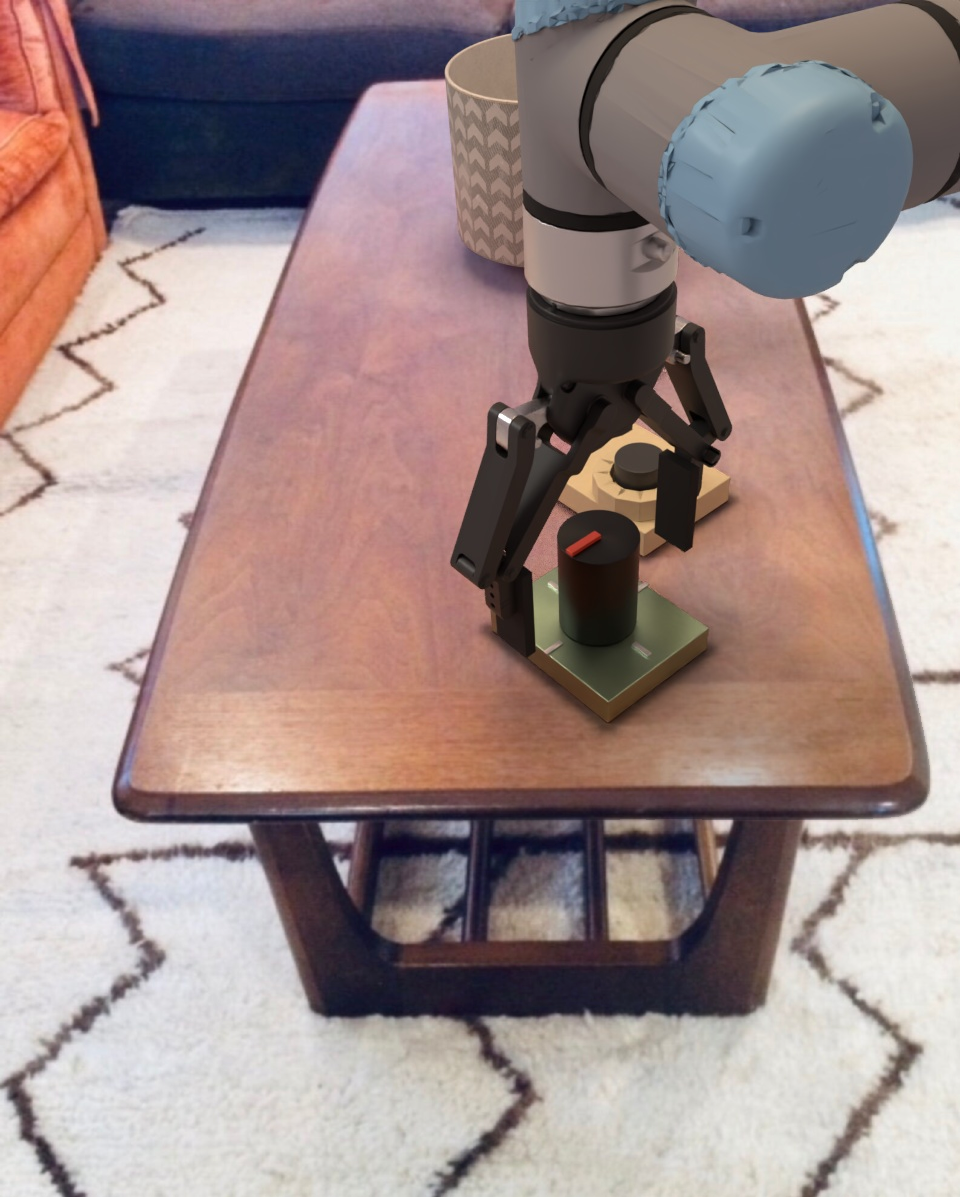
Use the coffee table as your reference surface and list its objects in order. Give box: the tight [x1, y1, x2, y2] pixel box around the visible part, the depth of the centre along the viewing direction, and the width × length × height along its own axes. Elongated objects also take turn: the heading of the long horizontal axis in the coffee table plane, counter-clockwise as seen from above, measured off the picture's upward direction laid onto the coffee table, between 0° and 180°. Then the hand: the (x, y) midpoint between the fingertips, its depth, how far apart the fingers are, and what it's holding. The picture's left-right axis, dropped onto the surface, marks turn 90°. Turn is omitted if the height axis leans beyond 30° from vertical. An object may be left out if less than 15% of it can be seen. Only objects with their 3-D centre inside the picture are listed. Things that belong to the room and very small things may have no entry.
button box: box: [558, 422, 731, 557], centre depth 81 cm, size 10×9×4 cm
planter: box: [444, 32, 524, 269], centre depth 105 cm, size 19×19×18 cm
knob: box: [556, 510, 641, 646], centre depth 68 cm, size 5×5×7 cm
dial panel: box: [489, 565, 710, 723], centre depth 72 cm, size 11×9×2 cm
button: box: [614, 442, 662, 491], centre depth 78 cm, size 4×4×2 cm
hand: (598, 589), depth 69 cm, fingers open, 13 cm apart
